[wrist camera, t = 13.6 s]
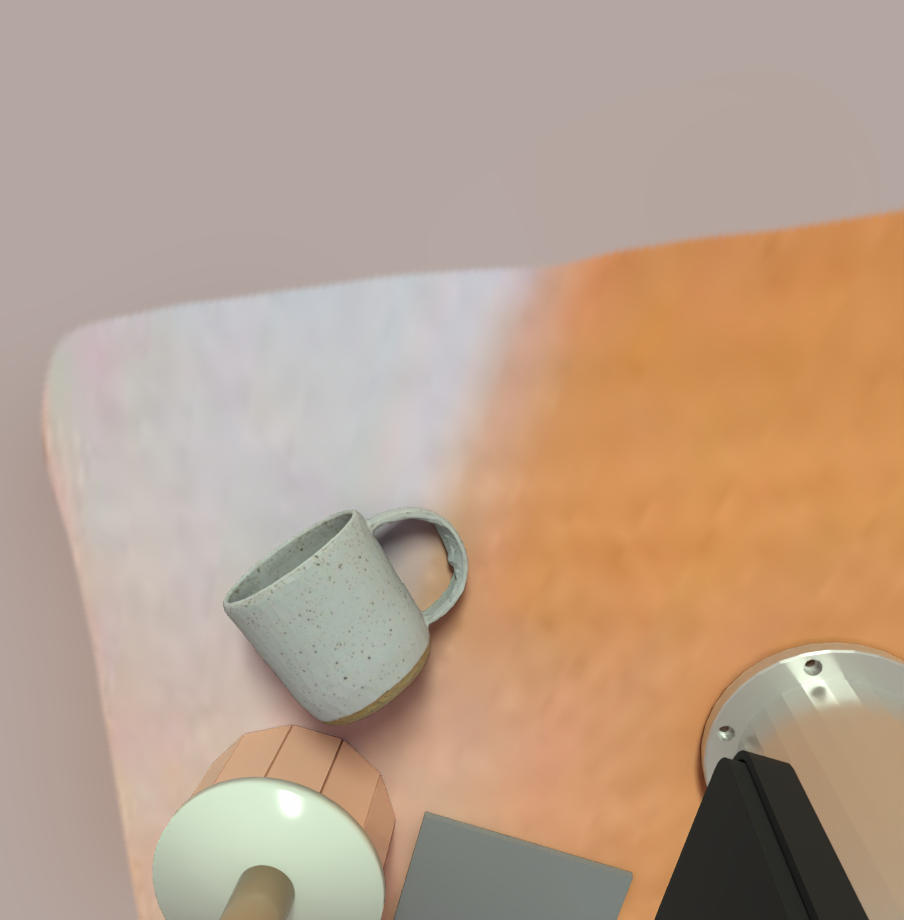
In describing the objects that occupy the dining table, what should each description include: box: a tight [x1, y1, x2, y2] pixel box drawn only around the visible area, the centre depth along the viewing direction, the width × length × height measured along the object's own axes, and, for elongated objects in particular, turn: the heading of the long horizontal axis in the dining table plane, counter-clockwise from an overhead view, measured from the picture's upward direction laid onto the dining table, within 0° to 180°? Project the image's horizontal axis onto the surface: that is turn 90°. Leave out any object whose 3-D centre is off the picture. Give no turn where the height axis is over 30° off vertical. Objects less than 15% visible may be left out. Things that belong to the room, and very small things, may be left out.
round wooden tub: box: [191, 725, 395, 867], centre depth 44 cm, size 11×11×5 cm
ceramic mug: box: [223, 507, 468, 725], centre depth 39 cm, size 11×8×8 cm
